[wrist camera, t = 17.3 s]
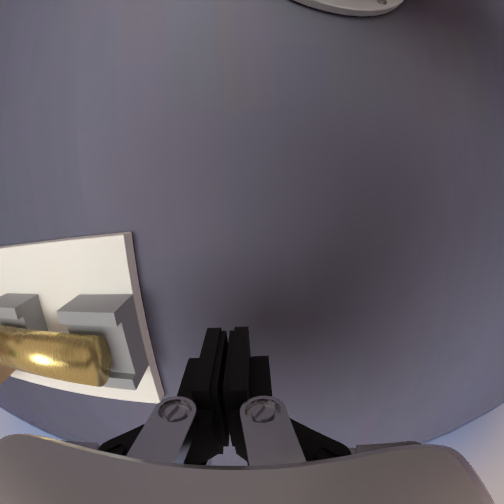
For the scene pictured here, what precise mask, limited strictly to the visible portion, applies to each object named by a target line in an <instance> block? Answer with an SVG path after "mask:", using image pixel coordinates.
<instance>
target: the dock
mask: <svg viewBox="0 0 504 504" xmlns="http://www.w3.org/2000/svg"><path fill="white" fill-rule="evenodd" d="M0 325H3V326H10V327H17V328H24V329H32V330H40V331H49V332H59V333H70V334H82V335H97V336H101V337H103V338H104V339H105V341H106V342H107V344H108V347H109V350H110V355H111V371H110V376H109V378H108V381H107V382H106V384H105V385H103V386H102V387H96V386H90V385H84V384H78V383H72V382H67V381H62V380H57V379H52V378H47V377H43V376H39V375H35V374H30V373H27V372H23V371H19V370H15V369H12V368H8V367H5V366H2V365H0V385H1V384H2V383H3V382H4V381H5V380H6V379H7V378H8V377H9V376H12V377H15V378H19V379H22V380H26V381H29V382H33V383H37V384H40V385H44V386H48V387H53V388H57V389H61V390H66V391H71V392H76V393H81V394H87V395H92V396H99V397H105V398H112V399H120V400H128V401H137V402H147V403H159V402H161V401H162V398H163V396H164V391H163V387H162V384H161V380H160V377H159V373H158V369H157V365H156V361H155V357H154V353H153V349H152V345H151V341H150V337H149V332H148V328H147V323H146V318H145V313H144V308H143V303H142V298H141V292H140V287H139V281H138V275H137V268H136V262H135V255H134V247H133V240H132V232H122V233H111V234H101V235H92V236H82V237H73V238H64V239H56V240H47V241H39V242H31V243H23V244H16V245H8V246H1V247H0Z"/></svg>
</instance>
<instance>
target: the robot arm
mask: <svg viewBox="0 0 504 504" xmlns="http://www.w3.org/2000/svg"><path fill="white" fill-rule="evenodd" d="M293 1H296V2H299V3H301V4H304V5H306V6H309V7H313V8H316V9H320V10H323V11H327V12H332V13H337V14H342V15H351V16H376V15H381V14H385V13H388V12H390V11H392V10H394V9H396V8H397V7H398V6H399V5H400V4H401V3H402V2H403V1H404V0H293ZM229 434H230V436H231V441H232V446H235V449H236V454H238V455H239V456H240V457H242V458H243V459H245V460H246V461H247V465H248V466H211V458H212V457H214V456H215V455H217V454H223V446H228V445H229ZM0 504H495V503H494V501H493V499H492V497H491V495H490V494H489V492H488V490H487V489H486V487H485V485H484V484H483V482H482V480H481V479H480V477H479V476H478V474H477V473H476V471H475V470H474V469H473V467H472V466H471V465H470V464H469V462H468V461H467V460H466V459H465V458H464V457H463V456H462V455H461V454H460V453H459V452H457V451H456V450H454V449H452V448H450V447H447V446H443V445H433V444H421V443H418V442H415V441H406V442H396V443H385V444H369V445H357V446H356V448H348V447H347V446H345V445H343V444H342V443H340V442H337V441H335V440H333V439H331V438H329V437H327V436H324V435H322V434H320V433H318V432H316V431H314V430H312V429H310V428H308V427H306V426H304V425H302V424H300V423H298V422H296V421H294V420H292V419H291V418H289V415H288V413H287V410H286V407H285V405H284V404H283V402H282V401H280V400H279V399H277V398H275V397H272V389H271V379H270V368H269V358H268V356H255V357H251V355H250V342H249V330H248V326H247V327H235V330H234V331H230V333H229V341H227V333H226V331H222V330H221V328H207V331H206V335H205V339H204V342H203V346H202V350H201V354H200V357H199V358H190V359H189V360H188V363H187V366H186V369H185V372H184V375H183V378H182V382H181V385H180V388H179V391H178V395H177V396H175V397H169V398H166V399H164V400H162V401H161V402H159V403H158V404H157V405H156V407H155V408H154V410H153V412H152V413H151V415H150V417H149V418H148V420H147V422H146V423H145V424H144V425H141V426H139V427H137V428H135V429H133V430H131V431H129V432H126V433H124V434H122V435H120V436H118V437H115V438H113V439H111V440H108V441H107V442H105V443H103V444H102V445H101V446H99V445H98V443H88V442H72V441H60V440H56V439H53V438H48V437H43V436H38V435H30V434H14V435H8V436H5V437H3V438H2V439H0Z"/></svg>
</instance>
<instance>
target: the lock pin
mask: <svg viewBox="0 0 504 504" xmlns="http://www.w3.org/2000/svg"><path fill="white" fill-rule="evenodd" d="M0 365H2V366H5V367H8V368H12V369H15V370H19V371H23V372H27V373H30V374H35V375H39V376H43V377H47V378H52V379H57V380H62V381H67V382H72V383H78V384H84V385H90V386H96V387H102V386H103V385H105V384H106V382H107V381H108V378H109V376H110V371H111V355H110V350H109V347H108V344H107V342H106V341H105V339H104V338H103V337H101V336H97V335H82V334H70V333H59V332H49V331H40V330H32V329H24V328H17V327H10V326H3V325H0Z"/></svg>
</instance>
